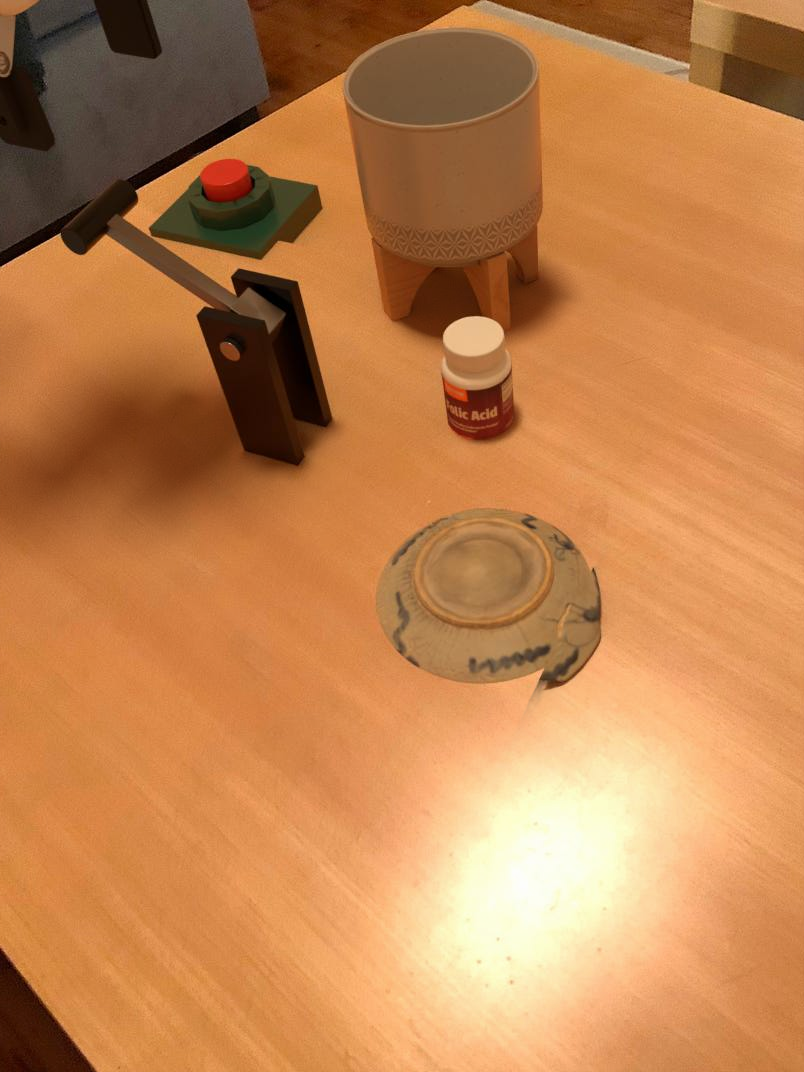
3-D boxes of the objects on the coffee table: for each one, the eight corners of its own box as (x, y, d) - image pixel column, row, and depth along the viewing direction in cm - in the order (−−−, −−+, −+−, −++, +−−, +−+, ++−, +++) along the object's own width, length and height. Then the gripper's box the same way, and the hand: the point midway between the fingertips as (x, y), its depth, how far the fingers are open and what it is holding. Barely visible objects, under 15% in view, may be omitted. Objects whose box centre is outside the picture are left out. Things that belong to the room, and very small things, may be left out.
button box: (156, 250, 90) (141, 208, 87) (218, 187, 95) (205, 145, 92) (265, 274, 87) (253, 231, 84) (322, 208, 92) (313, 165, 89)
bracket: (189, 471, 74) (125, 322, 64) (254, 390, 79) (205, 239, 68) (336, 514, 71) (294, 364, 60) (395, 427, 75) (366, 273, 65)
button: (196, 200, 88) (190, 180, 86) (222, 174, 90) (216, 155, 88) (237, 208, 87) (231, 188, 85) (261, 182, 89) (256, 162, 87)
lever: (58, 246, 63) (60, 219, 61) (111, 197, 66) (115, 169, 64) (247, 373, 65) (255, 351, 63) (290, 320, 68) (299, 297, 66)
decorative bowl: (523, 750, 59) (652, 570, 66) (519, 717, 56) (654, 532, 63) (320, 640, 65) (457, 485, 71) (307, 605, 62) (451, 446, 68)
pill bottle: (441, 450, 73) (428, 355, 67) (458, 404, 76) (446, 308, 69) (507, 458, 72) (500, 363, 66) (522, 412, 75) (517, 315, 68)
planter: (576, 316, 81) (576, 84, 66) (427, 378, 78) (394, 149, 63) (495, 234, 88) (480, 8, 73) (356, 288, 85) (311, 64, 70)
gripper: (-9, -383, 48) (122, 15, 62) (-305, -259, 39) (-75, 172, 53) (125, -381, 46) (229, 31, 60) (-157, -249, 37) (42, 197, 51)
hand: (86, 97), depth 56 cm, fingers open, 9 cm apart
